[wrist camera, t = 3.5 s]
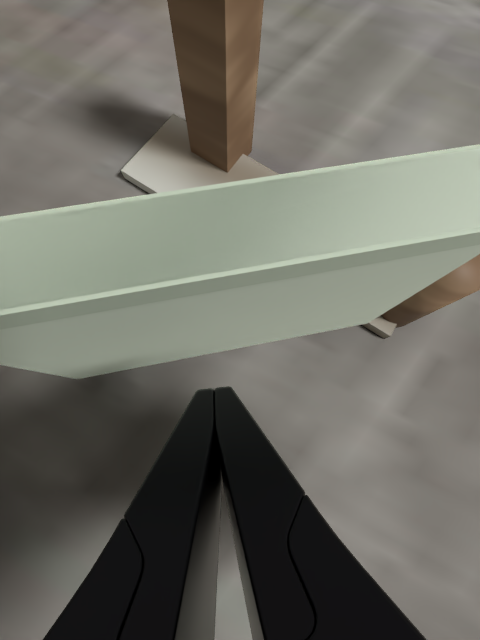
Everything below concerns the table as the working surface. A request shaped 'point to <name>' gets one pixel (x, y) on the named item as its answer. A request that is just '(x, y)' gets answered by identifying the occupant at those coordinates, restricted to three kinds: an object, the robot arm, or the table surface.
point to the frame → (240, 129)
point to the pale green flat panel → (231, 262)
